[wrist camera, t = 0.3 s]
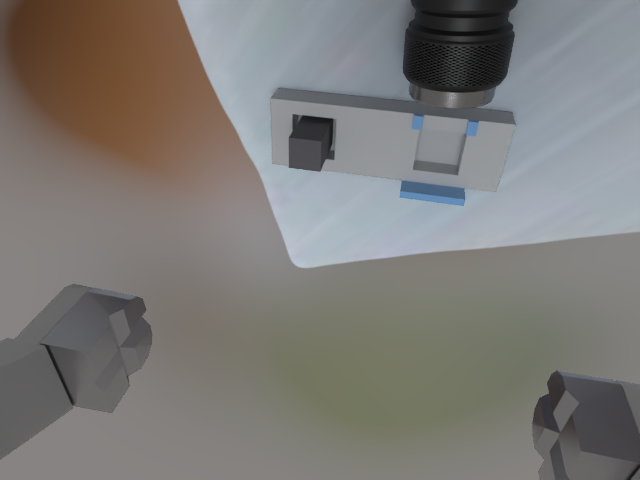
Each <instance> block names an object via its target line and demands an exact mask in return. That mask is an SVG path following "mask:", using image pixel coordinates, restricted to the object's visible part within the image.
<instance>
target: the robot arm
mask: <svg viewBox="0 0 640 480" xmlns="http://www.w3.org/2000/svg"><path fill="white" fill-rule="evenodd" d="M145 311H146V307H145V304H144V301H143V299H142V298H140V297H137V296H133V295H127V294H123V293H118V292H113V291H108V290H103V289H98V288H92V287H87V286H82V285H77V284H72V285H69V286H67V287H65V288H64V289H63V290H62V291H61V292H60V293H59V294H58V295H57V296H56V297H55V298H54V299H53V300H52V301H51V302H50V303H49V304H48V305H47V306H46V307H45V308H44V309H43V310H42V311H41V312H40V313H39V314H38V315H37V316H36V317H35V318H34V319H33V320H32V322H30V324H29V325H28V326H27V327H26V328H25V329H24V330H23V331H22V332H21V333H20V334H19V335H18V336H17V337H16V338H15V339H9V338H6V339H4V340H2V341H0V460H1V459H2V458H3V457H5V456H6V455H8V454H9V453H11V452H12V451H13V450H15V449H16V448H18V447H19V446H21V445H22V444H23V443H25V442H26V441H28V440H29V439H30V438H32V437H33V436H35V435H36V434H37V433H39V432H40V431H42V430H43V429H45V428H46V427H48V426H49V425H50V424H52V423H53V422H55V421H56V420H57V419H59V418H60V417H62V416H63V415H65V414H66V413H67V412H69V411H70V410H72V409H73V406H76V407H82V408H87V409H92V410H98V411H103V412H108V413H112V412H113V411H114V409H115V408H116V406H117V405H118V403H119V401H120V400H121V398H122V397H123V395H124V394H125V392H126V391H127V389H128V388H129V386H130V385H129V377H128V376H129V375H130V374H132V373H134V372H136V371H137V370H139V369H141V367H142V366H143V364H144V362H145V361H146V359H147V357H148V355H149V351H150V348H151V345H152V331H151V326H150V325H149V323H147V321H146V320H144V318H143V317H142V315H143V314H144V313H145ZM547 386H548V390H549V394H547V395H544V396H542V397H540V398H539V400H538V403H537V405H536V407H535V410H534V417H533V423H532V429H533V441H534V447H535V449H536V450H537V452H538V453H539V454H540V455H541V456H542V458H543V459H544V462H543V464H542V466H541V467H540V469H539V478H540V480H640V384H634V383H629V382H622V381H614V380H612V379H606V378H600V377H594V376H588V375H582V374H576V373H570V372H564V371H558V370H556V371H555V372H553V373H552V374H551V376H550V378H549V380H548V382H547Z"/></svg>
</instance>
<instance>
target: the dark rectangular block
mask: <svg viewBox="0 0 640 480" xmlns="http://www.w3.org/2000/svg"><path fill="white" fill-rule="evenodd" d="M333 122H334V119H333V118H324V117H315V116H306V115H303V116H302V117H301V119H300V120H299V122H298V123H297V125H296V127H295V128H294V130H293V131H292V133H291V135H290V136H289V168H296V169H304V170H312V171H319V172H320V171H321V169H322V167H323V164H324V162H325V160H326V158H327V155H328V153H329V151H330V149H331V146H332V142H333Z"/></svg>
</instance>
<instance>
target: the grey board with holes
mask: <svg viewBox="0 0 640 480" xmlns="http://www.w3.org/2000/svg"><path fill="white" fill-rule="evenodd" d="M270 105H271V136H272V164H278V165H286V166H289V136H290V135H291V133H292V131H293V130H294V128H295V127H296V125H297V123H298V122H299V120H300V119H301V117H302V116H303V115H306V116H315V117H324V118H333V119H334V122H333V142H332V146H331V149H330V151H329V153H328V155H327V158H326V160H325V162H324V164H323V167H322V169H321V170H325V171H333V172H340V173H348V174H356V175H364V176H372V177H380V178H387V179H395V180H402V184H401V191H400V197H401V198H408V199H416V200H423V201H431V202H438V203H446V204H453V205H461V206H464V202H465V192H464V188H466V189H473V190H481V191H489V192H496V191H497V188H498V185H499V181H500V178H501V174H502V171H503V167H504V164H505V161H506V157H507V154H508V150H509V147H510V143H511V140H512V136H513V133H514V130H515V126H516V123H515V120H514V117H513V114H512V112H505V111H496V110H486V109H476V108H468V109H443V108H437V107H432V106H428V105H425V104H422V103H418V102H409V101H399V100H389V99H380V98H370V97H361V96H351V95H341V94H332V93H322V92H312V91H303V90H293V89H283V88H279V89H278V90H277V91H276V92H275V93H274V95H273V96H272V97H271V98H270Z"/></svg>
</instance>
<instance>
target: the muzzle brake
mask: <svg viewBox="0 0 640 480" xmlns="http://www.w3.org/2000/svg"><path fill="white" fill-rule="evenodd" d="M517 2H518V0H411V3H412V6H413V7H414V8H415V9H416V14H415V19H414V20H412V21H411V22H410V23H409V27H408V28H407V30H406V32H405V45H404V59H403V73H404V75H405V77H406V79H407V80H408V81H409V82H410V85H409V94H410V96H411V97H412V98H413V99H414V100H415V101H417V102H419V103H422V104H425V105H428V106H432V107H437V108H443V109H468V108H475V107H479V106H483V105H485V104H488V103H489V102H491V101H492V99H493V98H494V94H495V89H496V86H498V85H499V84H500V83H501V82H502V81H503V80H504V79H505V77H506V75H507V72H508V67H509V62H510V57H511V52H512V47H513V41H514V31H513V25H512V24H511V23H510V22H508V17H509V12H510V11H511V10H512V9H513V8H514V7H515V6H516V4H517Z"/></svg>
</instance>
